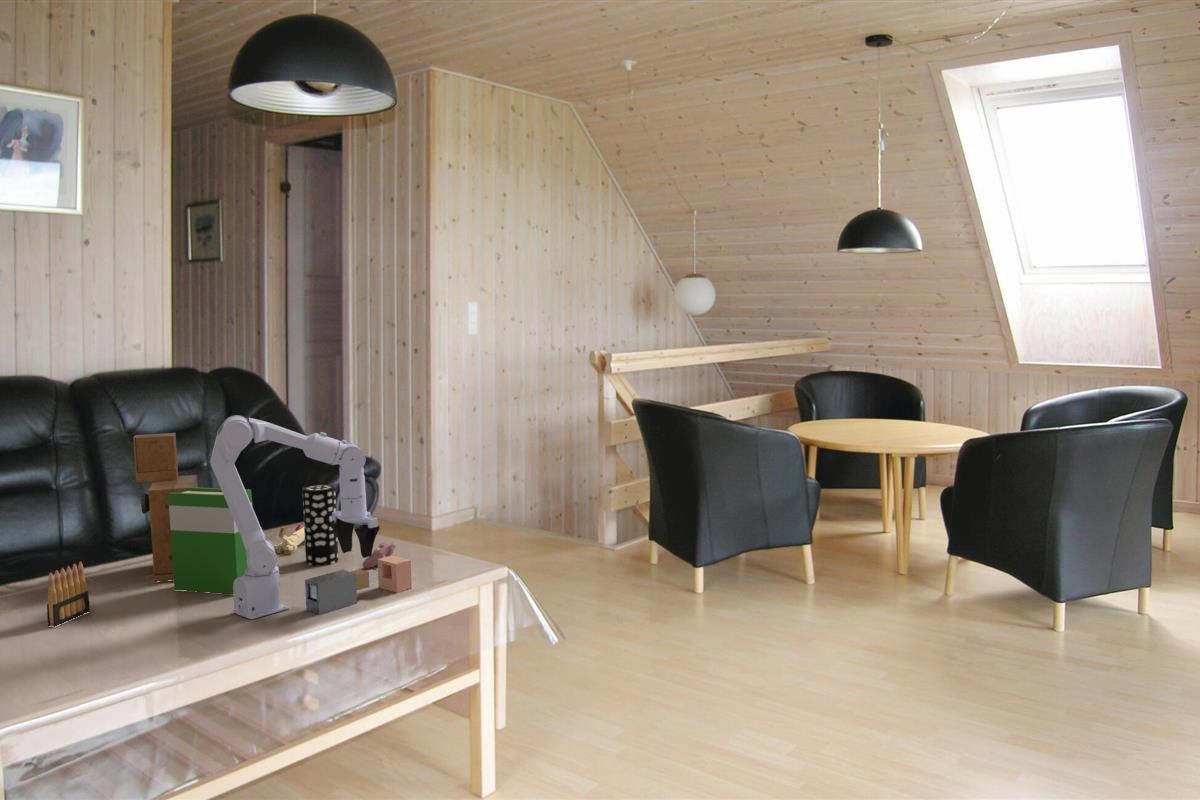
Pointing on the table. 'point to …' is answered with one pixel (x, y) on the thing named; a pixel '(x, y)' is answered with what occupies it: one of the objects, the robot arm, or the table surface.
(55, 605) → the ammunition clip
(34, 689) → the table surface
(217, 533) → the hardback book
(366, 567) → the video game controller
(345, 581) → the outer sleeve
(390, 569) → the socket block
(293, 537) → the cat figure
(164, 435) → the brown stacked box shape
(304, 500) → the white-spotted black cylinder
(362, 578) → the tube
